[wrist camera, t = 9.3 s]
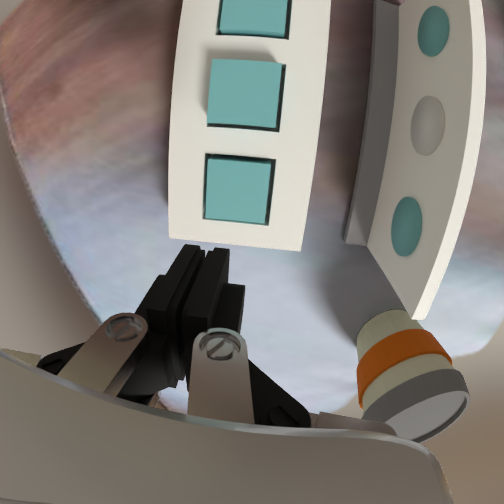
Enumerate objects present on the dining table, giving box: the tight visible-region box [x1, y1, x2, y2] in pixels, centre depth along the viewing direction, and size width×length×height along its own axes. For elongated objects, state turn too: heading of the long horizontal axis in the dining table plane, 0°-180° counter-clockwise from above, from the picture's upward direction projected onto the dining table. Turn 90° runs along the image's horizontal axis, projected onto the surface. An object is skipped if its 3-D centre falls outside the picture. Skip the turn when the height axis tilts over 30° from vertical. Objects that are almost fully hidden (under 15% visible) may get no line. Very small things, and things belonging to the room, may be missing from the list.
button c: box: [205, 154, 271, 223], centre depth 25 cm, size 5×5×3 cm
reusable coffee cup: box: [356, 309, 470, 444], centre depth 28 cm, size 13×13×15 cm
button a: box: [219, 0, 288, 39], centre depth 17 cm, size 5×5×3 cm
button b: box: [207, 59, 282, 128], centre depth 20 cm, size 5×5×3 cm
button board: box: [168, 0, 331, 251], centre depth 22 cm, size 12×26×4 cm, turn 175°
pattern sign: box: [343, 0, 486, 320], centre depth 18 cm, size 6×26×13 cm, turn 175°
